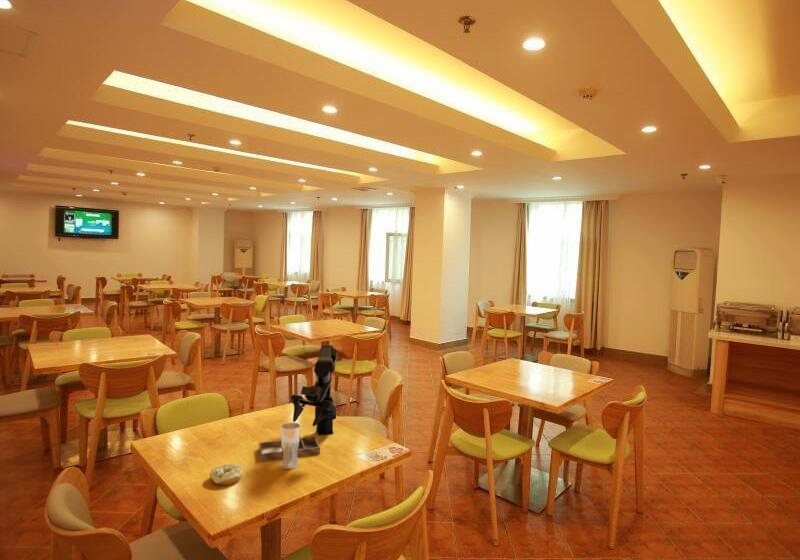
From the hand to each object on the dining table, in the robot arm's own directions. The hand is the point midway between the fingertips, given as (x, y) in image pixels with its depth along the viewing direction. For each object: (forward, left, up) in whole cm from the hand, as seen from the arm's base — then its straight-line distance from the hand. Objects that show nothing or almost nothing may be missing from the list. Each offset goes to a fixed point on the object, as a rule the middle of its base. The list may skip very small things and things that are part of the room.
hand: (303, 423), depth 177 cm
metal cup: (+5, +5, -13) cm, 15 cm away
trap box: (+4, -7, -13) cm, 16 cm away
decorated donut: (+27, +9, -14) cm, 32 cm away
